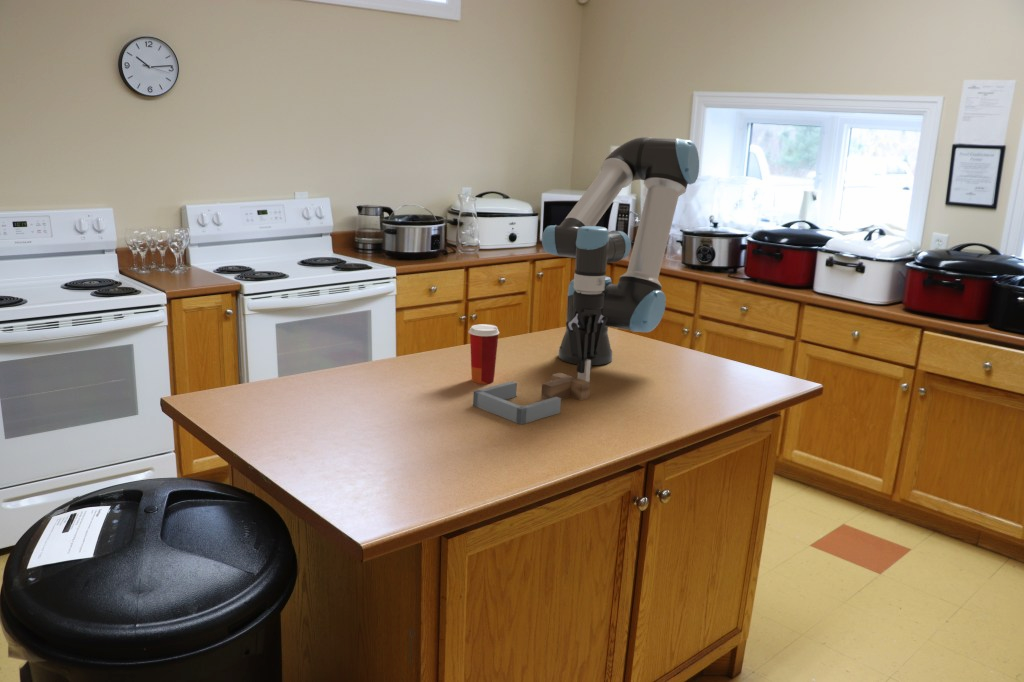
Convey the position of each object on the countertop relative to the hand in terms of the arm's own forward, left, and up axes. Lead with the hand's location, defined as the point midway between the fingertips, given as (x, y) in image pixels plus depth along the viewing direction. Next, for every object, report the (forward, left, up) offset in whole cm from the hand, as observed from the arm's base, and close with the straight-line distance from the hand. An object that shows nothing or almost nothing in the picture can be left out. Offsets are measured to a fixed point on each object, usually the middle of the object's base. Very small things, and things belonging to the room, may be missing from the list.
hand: (583, 384), depth 210 cm
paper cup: (-21, -15, -2) cm, 26 cm away
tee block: (0, -8, -2) cm, 8 cm away
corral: (0, -23, -2) cm, 23 cm away
